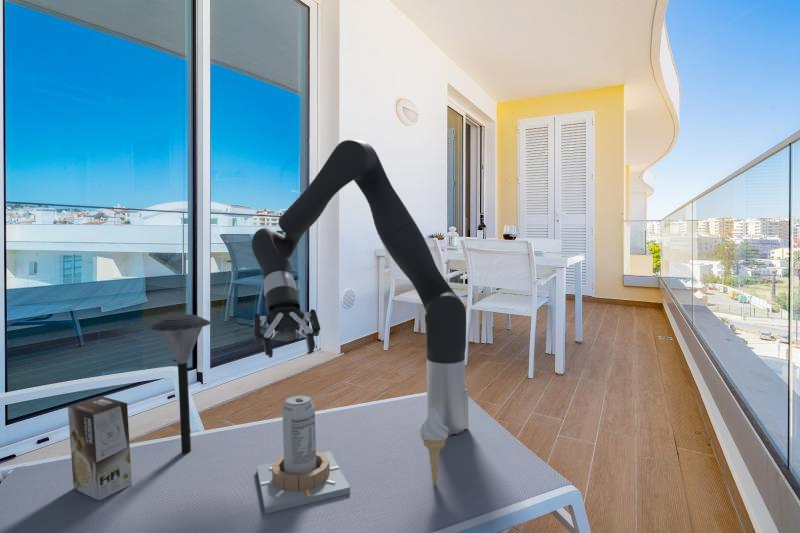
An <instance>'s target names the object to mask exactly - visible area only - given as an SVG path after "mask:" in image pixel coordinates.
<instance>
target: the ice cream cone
mask: <svg viewBox="0 0 800 533" xmlns="http://www.w3.org/2000/svg"><path fill="white" fill-rule="evenodd" d="M444 424H445V423H444V422H443V420H442V419H441V418H440V417H439V415H438V413H437V411H436V409H435V407H434V408H433V410H432V412H431V414H430V415H429V416H428V418H427V417H426V419H425V421H424V422H423V424H422V425H421V426H420V428H419V434H420V437H421V439H422V442H423V446H424V447H425V448H427V450H428V453H429V462H430V470H431V476H432V477H431V478H432V484H433V485H436V484H437V483H438V472H439V463H440V451H441V449H443V447H445V446H446V441H447V439H448V438H449V435H448V433H447V432H449V429H448V427H446V426H445V425H444Z"/></svg>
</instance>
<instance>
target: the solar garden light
mask: <svg viewBox="0 0 800 533" xmlns="http://www.w3.org/2000/svg"><path fill="white" fill-rule="evenodd" d="M210 324H211V325H212V322H211V321H210V320H208V319H205V318H203V317H202V316H199V315H196V314H186V313H185V314H177V315H176V314H175V315H168V316H165V317H163V318H162V319H159V320H158V321H157V322H154V324H152V325H150V326H149V327H148V329H149V330H150V331H156V332H159V333H160V336H161V337H162V338H163V340H164V341H165V343H166V345H167V347H168V349H169V351H170V352H171V354H172V356H173V358H174V359H175V361H176V363H177V373H178V375H177V376H178V398H179V421H180V423H179V424H180V443H181V444H180V445H181V446H180V447H181V453H182V454H188V453H190V452H191V451H192V444H191V442H192V439H191V423H190V421H191V420H190V419H191V418H190V399H189V398H190V396H189V393H190V392H189V373H188V361H189V360H190V357H191V355H192V352H193V350H194V347H195V345H196V343H197V341H198V338H199V336H200V333H201V331H202V329H203V327H207V326H209V325H210Z"/></svg>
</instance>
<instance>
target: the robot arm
mask: <svg viewBox="0 0 800 533" xmlns="http://www.w3.org/2000/svg"><path fill="white" fill-rule="evenodd" d="M352 181H353V182H355V184H356V185H357V186H358V188H359V190H360V191H361V193H362V194H363V196H364V197H365V199H366V201H367V203H368V206H369V208H370V212H371V216H372V219H373V225H374V226H375V230H376V232H377V235H378V236H379V239H380V240H381V242H382V244H383V245H384V247H385V249H386V251H387V252H388V255H389V256H390V257H391V258H392V260H393V262H395V264H396V265H397V266H398V268H399V269H400V270H401V272H402V273H403V274H404V275H405V276H406V277H407V279H408V280H409V281H410V282H411V284H412V285H413V287H414V289H415V291H416V293H417V294H418V296H419V299H420V300H421V303H422V305H423V308H424V310H425V313H426V419H427V418H428V416H429V415H430V414H431V412H432V410H433V408H434V407H435V409H436V411H437V413H438V415H439V417H440V418H441V419H442V420H443V422H444V423H445V424H444V425H445V426H446V427H448V429H449V432H447V433H448V436H453V435H452V434H456V435H459V434H461V433H463V432H464V431H465V430H468V429H469V390H468V388H466V349H467V310H466V307H465V305H464V302H463V301H462V300H461V298H460V297H459V296H458V294H456V292H454V290H453V288H451V286H450V285H449V284H448V282H447V281H446V279H445V278H444V276H443V275H442V273H441V272H440V270H439V268H438V267H437V264H436V262H435V259H434V256H433V255H432V253H431V250H430V247H429V245H428V244H427V243H428V242H427V241H426V240H425V237H424V235H423V233H422V231H421V230H420V228H419V226H418V224H417V223H416V221H415V220H414V218H413V217H412V215H411V214H410V212H409V210H408V208H407V207H406V206H405V205H406V204H404V202H403V201H402V199H401V198H400V196H399V195H398V193H397V192H396V190H395V189H394V187H393V185H392V183H391V182H390V179H389V176H387V173H386V171H385V169H384V166H383V165H382V162H381V159H380V158H379V155H378V153H377V151H376V150H375V149H374V147H373V146H372V145H371V144H369V143H368V142H365V141H363V140H358V139H346V140H343V141H341V142H339V143H338V144H337V145H336V146H335V148H334V149H333V150H332V152H331V153H330V155H329V156H328V158H327V160H326V161H325V162H324V164H323V165H322V167H321V169H320V170H319V172H318V173H317V175H316V176H315V177H314V178H313V180H312V182H311V183H310V184H309V185H308V186H307V187H306V189H305V190H304V191H303V192H302V193H301V194H300V196H298V198H297V199H296V200H295V201H294V202H293V203H291V205H290V206H289V207H288V208H287V210H285V212H283V213H282V215H280V217H279V219H278V225H279V228H280V229H281V230H282V231H283V233H284V234H281V233H280V232H277V231H275V230H273V229H270V228H266V227H261V228H259V229H258V230H256V231H255V233H254V234H253V237H252V239H251V249H252V252H253V255H254V257H255V259H256V261H257V264H258V265H259V267H260V269H261V270H262V278H263V295H264V298H265V300H264V301H265V307H266V313H267V314H266V315H260V314H259V313H255V314H254V315H253V338H254V340H253V341H254V342H255V343H259V342H261V343H263V347H264V354H265V356H268V358H269V359H270V358H273V354H274V351H273V343H272V339H273V338H274V337H275V335H276V334H277V333H279V334H282V333H283V334H284V333H287V332H288V333H293V332H297V333H298V334H299V335H302V336H303V337H305V341H306V342H305V343H306V347H307V351H308V354H312V353H313V351H314V350H315V347H316V341H315V338H314V337H318V336H319V335H320V331H321V325H320V322H319V319H318V318H319V317H318V315H317V312H316V310H315V309H313V308H311V309H310V311H307V312H303V310H302V309H301V303H300V299H299V295H298V294H299V293H298V290H297V289H298V288H297V284H296V281H295V279H294V275H293V274H294V273H293V268H292V265H291V262H290V260H289V259H290V257H292V255H293V254H294V252H295V250H296V247H297V246H298V244H299V242H300V240H301V238H302V237H303V235H304V234H305V233H306V232H307V231H308V230H309V229H310V228H311V226H313V225H314V224H315V223H316V222H317V220H318V219H319V218H320V216H322V214H323V212H324V211H325V209H326V207H327V205H328V204H329V202H330V201H331V200H332V199H333V197H334V196H335V195H336V194H337V193H338V192H339V191H340V190H342V189H343V188H344V187H345V186H347V185H349V184H350V183H351V182H352ZM304 319H306V321H307V322H309V323H310V326H311V327H310V326H308V325H307V323H306V322H305V321H304ZM265 322H266V323H267V324H268V325H269V327H268V329H267V330H266V331H265V333H261V332H262V330H261V327H262V326H264V323H265ZM467 428H468V429H467ZM464 429H465V430H464ZM462 431H463V432H462ZM460 432H461V433H460ZM458 433H459V434H458Z"/></svg>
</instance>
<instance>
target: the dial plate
mask: <svg viewBox="0 0 800 533" xmlns="http://www.w3.org/2000/svg"><path fill="white" fill-rule="evenodd" d="M334 457H335V456H334V455H333V454H332V452H331V451H324V452H320V451H317V450H316V470H314V471H312V472H310V473H305V474H301V475H293V474H286V473H284V455H282V456H280V457H279V458H277V459H276V460H274V462H271V463H265V464H260V465H256V475H257V479H258V484H259V489H260V493H261V499H262V503H263V510H264V514H265V515H267V514H271V513H275V512H280V511H283V510H287V509H288V510H289V509H292V508H297V507H301V506H304V505H308V504H313V503H316V502H320V501H321V502H322V501H325V500H330V499H334V498H336V497H337V498H338V497H340V496H341V497H342V496H345V495H350V494H351V486H350V484H349V483H348V480H347V479H346V477H345V475H344V474H343V472H342V470H341V468H340V466H339V465H338V462H337V461H336V459H335V458H334Z"/></svg>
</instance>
